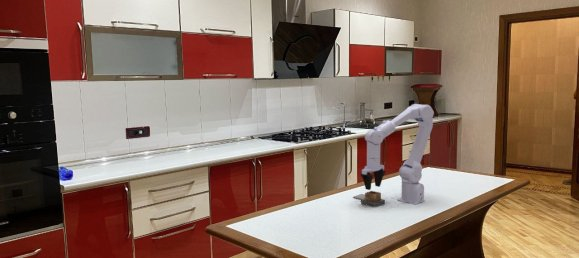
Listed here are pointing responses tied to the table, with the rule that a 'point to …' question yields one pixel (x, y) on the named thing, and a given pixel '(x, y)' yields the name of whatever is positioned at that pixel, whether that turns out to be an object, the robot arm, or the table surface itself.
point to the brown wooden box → (373, 196)
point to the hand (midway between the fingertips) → (372, 187)
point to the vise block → (372, 203)
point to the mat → (359, 196)
